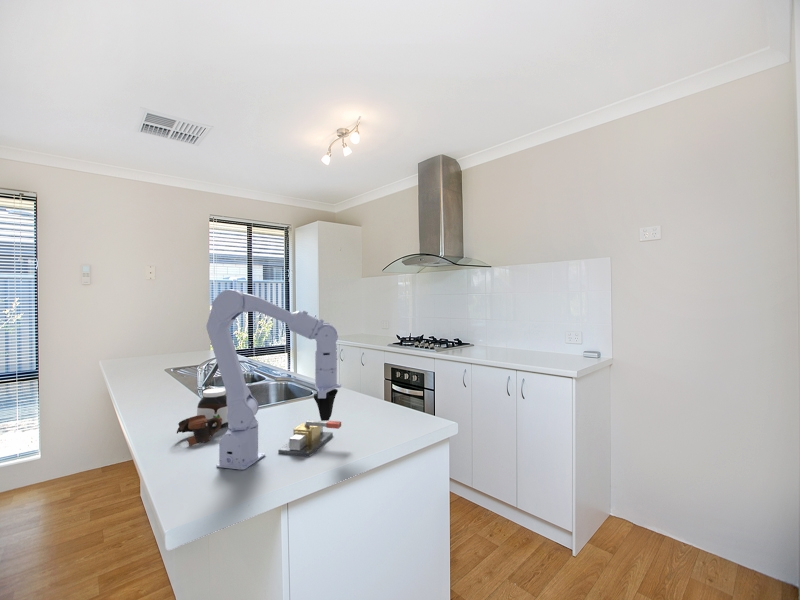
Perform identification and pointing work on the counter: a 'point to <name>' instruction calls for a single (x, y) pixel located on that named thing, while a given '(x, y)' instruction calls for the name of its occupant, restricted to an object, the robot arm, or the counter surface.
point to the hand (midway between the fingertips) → (326, 418)
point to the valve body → (305, 440)
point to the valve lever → (323, 424)
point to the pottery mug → (199, 428)
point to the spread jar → (214, 405)
